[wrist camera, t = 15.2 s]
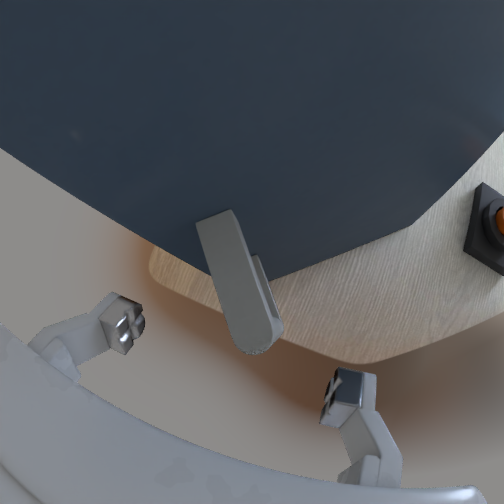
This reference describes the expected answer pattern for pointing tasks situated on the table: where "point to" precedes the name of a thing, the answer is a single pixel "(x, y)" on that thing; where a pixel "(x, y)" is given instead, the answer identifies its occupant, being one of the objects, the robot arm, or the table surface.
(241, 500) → the robot arm
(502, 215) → the button
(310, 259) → the door
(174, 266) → the table surface
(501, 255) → the button box
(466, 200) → the table surface
